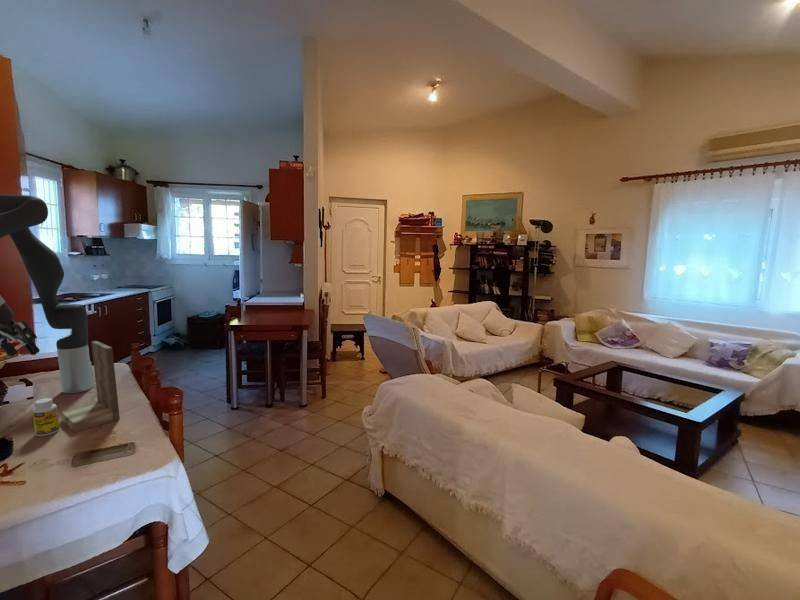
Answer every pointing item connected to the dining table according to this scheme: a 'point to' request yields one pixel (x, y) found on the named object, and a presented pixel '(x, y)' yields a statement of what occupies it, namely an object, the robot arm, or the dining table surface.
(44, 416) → the supplement bottle
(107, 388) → the wooden bookend
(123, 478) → the dining table surface
